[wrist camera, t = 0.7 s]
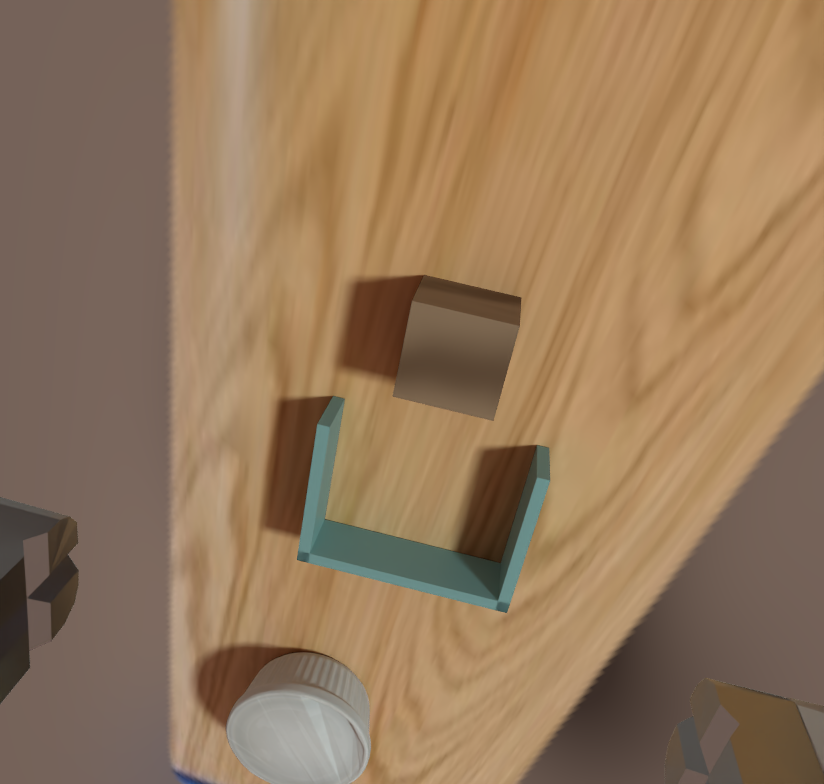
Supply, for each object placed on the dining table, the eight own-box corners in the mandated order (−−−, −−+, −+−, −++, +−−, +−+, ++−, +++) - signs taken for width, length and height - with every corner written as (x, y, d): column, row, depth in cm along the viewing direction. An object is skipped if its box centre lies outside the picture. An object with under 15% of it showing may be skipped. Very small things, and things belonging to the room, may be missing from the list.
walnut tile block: (424, 274, 45) (412, 300, 41) (521, 296, 45) (519, 326, 41) (405, 362, 48) (392, 396, 44) (497, 384, 48) (493, 420, 43)
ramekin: (408, 699, 61) (398, 755, 56) (323, 757, 65) (306, 814, 61) (304, 617, 59) (284, 668, 54) (223, 683, 63) (198, 735, 58)
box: (333, 396, 50) (317, 424, 46) (549, 448, 49) (550, 480, 45) (312, 525, 55) (296, 559, 51) (508, 574, 54) (506, 613, 50)
